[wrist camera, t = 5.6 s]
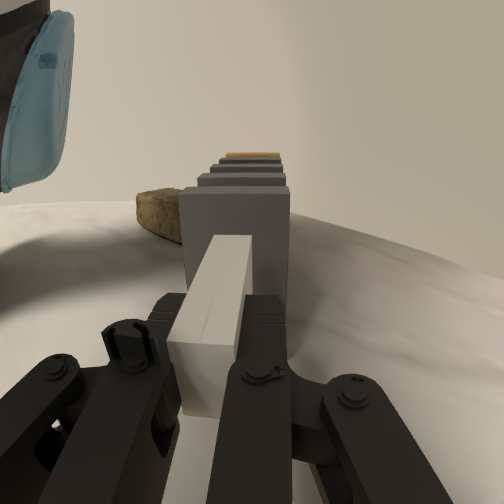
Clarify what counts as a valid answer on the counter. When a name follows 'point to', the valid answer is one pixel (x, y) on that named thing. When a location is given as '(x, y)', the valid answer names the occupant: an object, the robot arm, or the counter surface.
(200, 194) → the domino
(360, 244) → the counter surface
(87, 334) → the counter surface
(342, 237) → the counter surface
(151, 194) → the stone block
